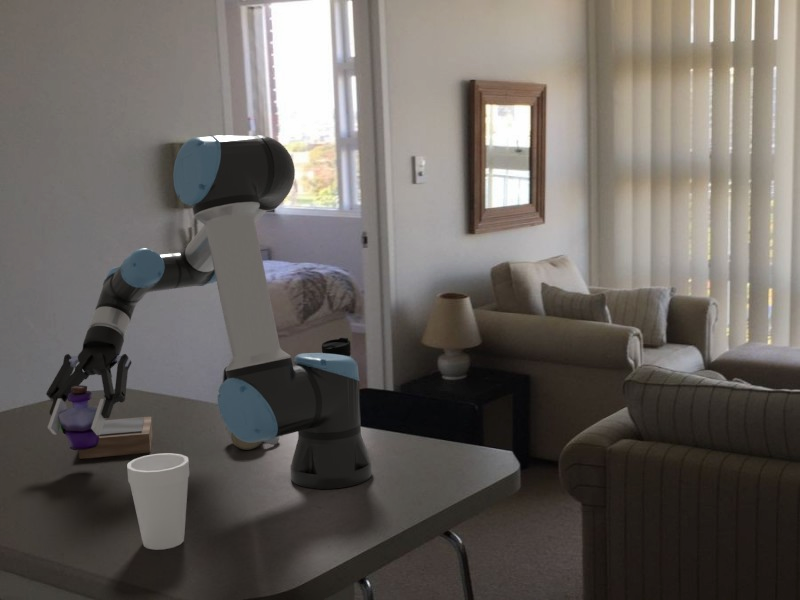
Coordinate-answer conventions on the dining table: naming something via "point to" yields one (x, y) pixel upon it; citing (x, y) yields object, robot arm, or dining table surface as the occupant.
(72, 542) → the dining table surface
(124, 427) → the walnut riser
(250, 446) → the ceramic mug
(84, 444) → the potion bottle
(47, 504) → the dining table surface
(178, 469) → the foam cup
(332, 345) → the travel mug
